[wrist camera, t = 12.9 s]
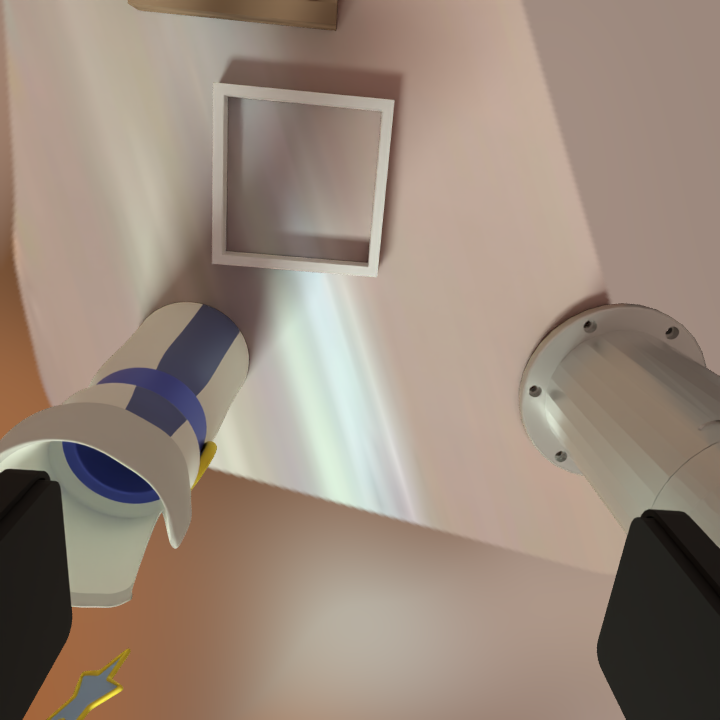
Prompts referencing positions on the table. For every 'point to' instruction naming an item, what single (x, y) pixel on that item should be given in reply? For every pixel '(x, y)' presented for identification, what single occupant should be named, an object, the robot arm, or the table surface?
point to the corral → (220, 179)
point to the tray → (252, 10)
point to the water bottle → (132, 456)
